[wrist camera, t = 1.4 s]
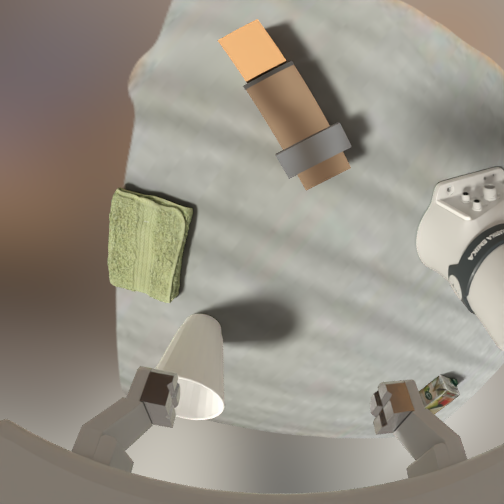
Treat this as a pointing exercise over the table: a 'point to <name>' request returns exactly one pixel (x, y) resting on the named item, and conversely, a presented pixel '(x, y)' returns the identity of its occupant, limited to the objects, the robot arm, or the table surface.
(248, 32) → the peach rectangular block
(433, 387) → the juice carton
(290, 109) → the block
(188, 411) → the cup
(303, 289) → the table surface
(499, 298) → the robot arm
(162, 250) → the washcloth
